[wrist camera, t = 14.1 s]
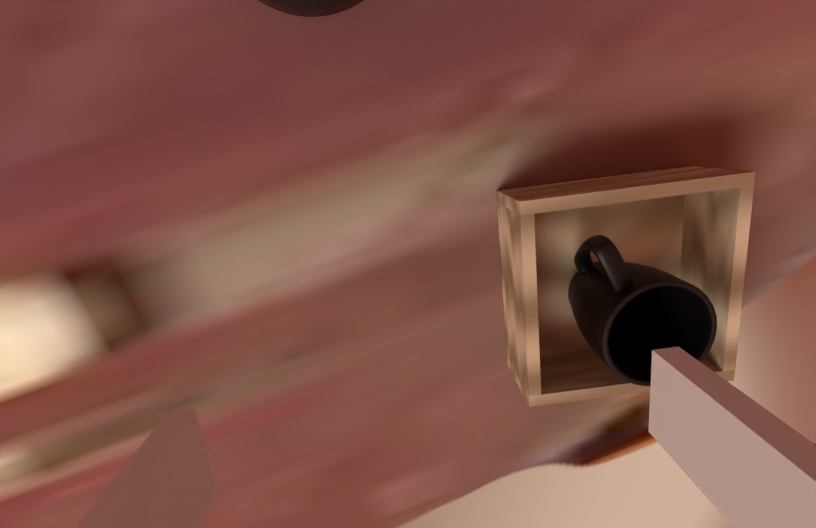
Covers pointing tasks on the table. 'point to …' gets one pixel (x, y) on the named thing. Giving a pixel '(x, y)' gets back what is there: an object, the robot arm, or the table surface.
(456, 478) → the table surface
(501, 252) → the open wooden box
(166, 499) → the robot arm
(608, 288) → the mug
